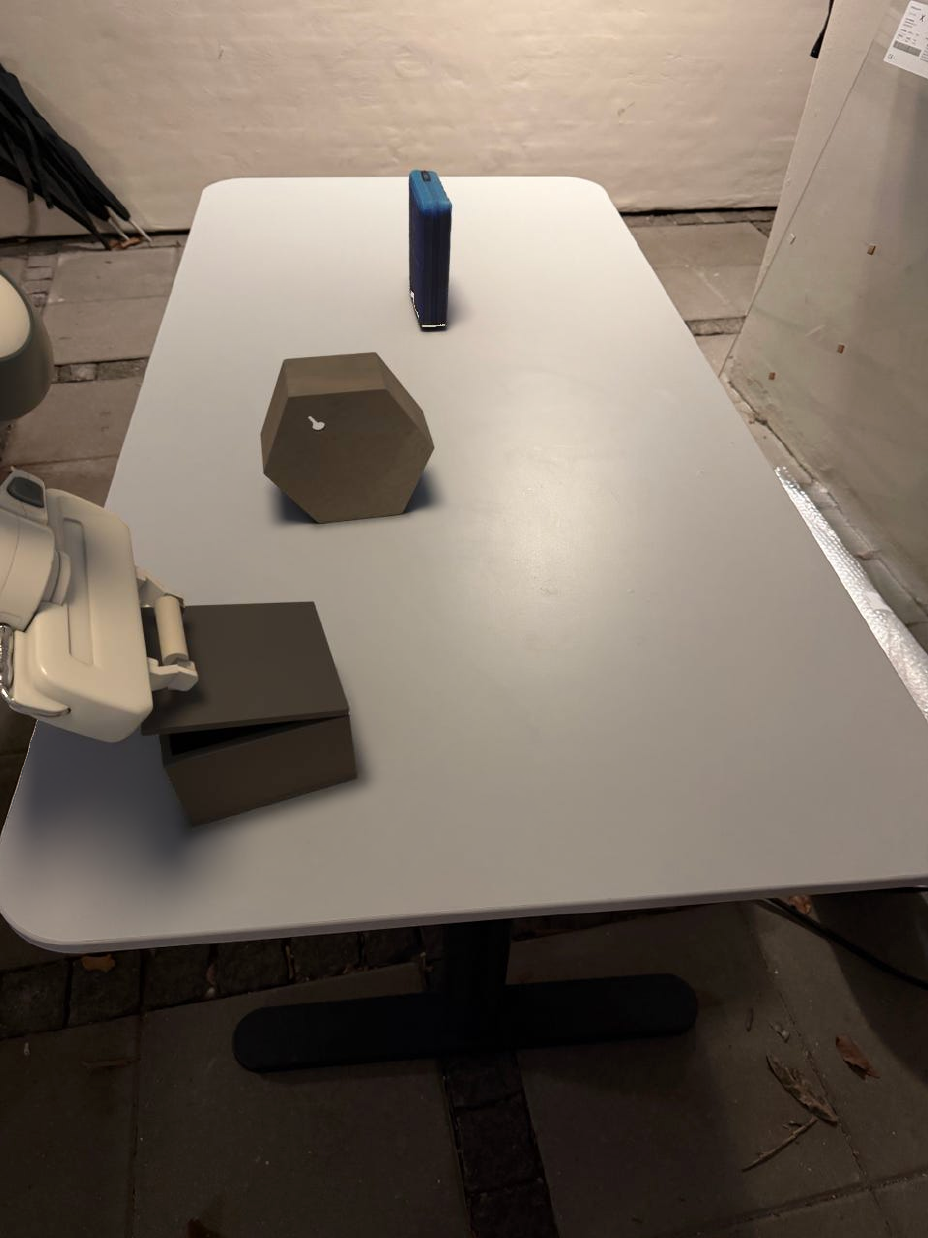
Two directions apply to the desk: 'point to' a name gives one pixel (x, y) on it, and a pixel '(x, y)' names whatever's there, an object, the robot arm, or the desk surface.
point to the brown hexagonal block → (344, 437)
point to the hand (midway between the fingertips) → (186, 641)
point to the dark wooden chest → (255, 764)
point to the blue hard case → (429, 246)
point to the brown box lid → (241, 665)
